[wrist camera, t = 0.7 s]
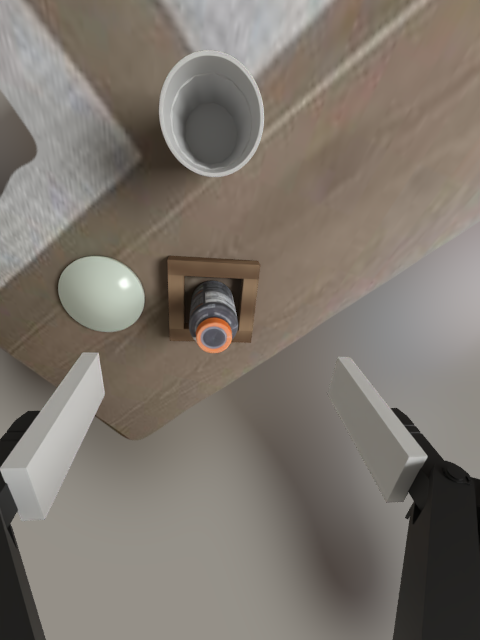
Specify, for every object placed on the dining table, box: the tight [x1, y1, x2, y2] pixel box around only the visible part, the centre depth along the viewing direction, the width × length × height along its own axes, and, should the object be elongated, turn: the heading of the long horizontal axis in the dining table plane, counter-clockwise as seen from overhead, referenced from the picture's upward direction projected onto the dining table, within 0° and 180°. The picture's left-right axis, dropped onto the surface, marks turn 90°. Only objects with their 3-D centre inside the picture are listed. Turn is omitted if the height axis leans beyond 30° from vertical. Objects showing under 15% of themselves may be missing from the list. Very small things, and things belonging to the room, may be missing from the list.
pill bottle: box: [189, 281, 238, 353], centre depth 37 cm, size 6×6×11 cm
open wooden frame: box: [167, 256, 260, 343], centre depth 41 cm, size 12×12×2 cm
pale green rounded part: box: [58, 255, 145, 332], centre depth 39 cm, size 11×11×1 cm
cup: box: [159, 50, 264, 177], centre depth 27 cm, size 8×8×12 cm
